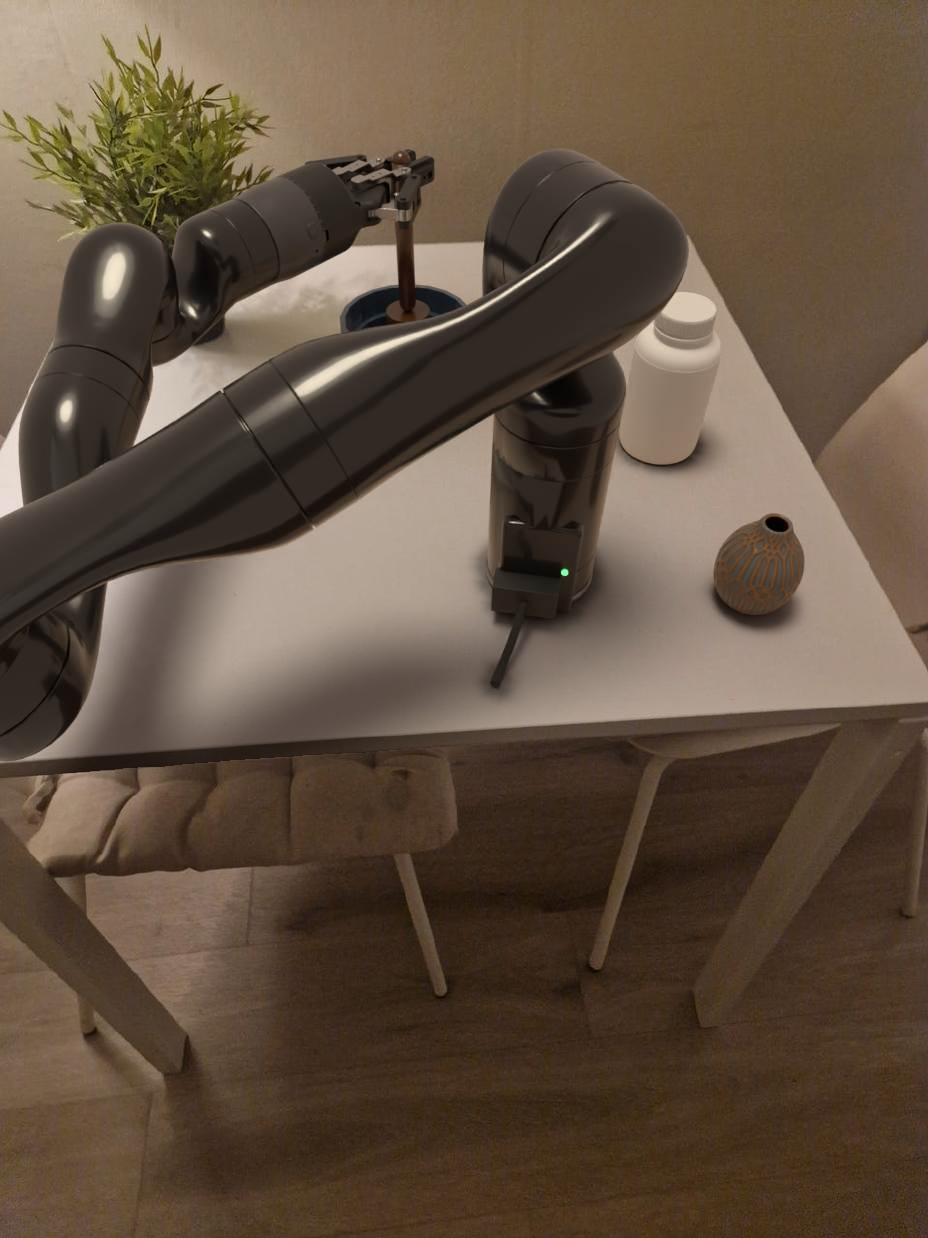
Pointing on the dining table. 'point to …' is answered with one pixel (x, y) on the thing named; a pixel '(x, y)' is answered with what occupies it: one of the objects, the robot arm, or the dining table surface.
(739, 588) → the vase
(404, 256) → the wooden peg stand
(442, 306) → the bowl
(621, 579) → the dining table surface
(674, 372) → the pill bottle
